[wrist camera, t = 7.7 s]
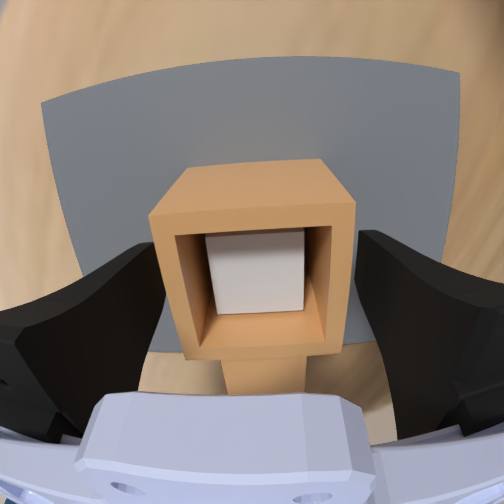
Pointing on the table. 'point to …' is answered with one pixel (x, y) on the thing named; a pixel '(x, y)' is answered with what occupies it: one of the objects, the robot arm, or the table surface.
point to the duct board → (257, 150)
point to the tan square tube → (256, 218)
